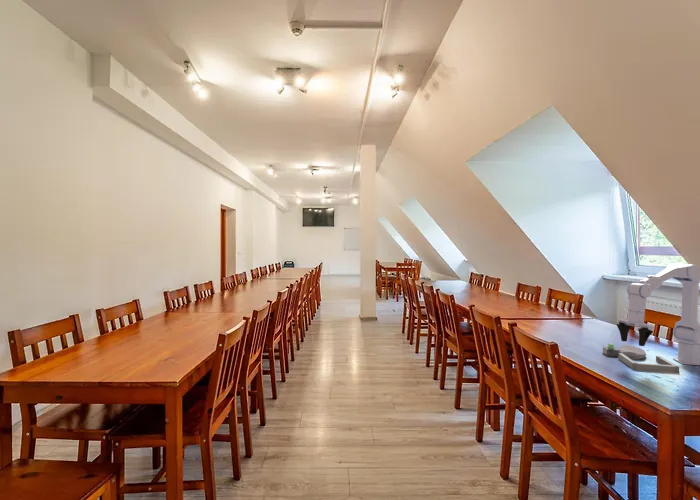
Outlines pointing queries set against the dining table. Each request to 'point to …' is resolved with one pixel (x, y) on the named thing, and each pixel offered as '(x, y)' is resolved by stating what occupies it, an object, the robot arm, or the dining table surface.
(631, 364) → the corral
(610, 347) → the button
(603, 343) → the dining table surface
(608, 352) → the button box
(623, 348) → the stone block
